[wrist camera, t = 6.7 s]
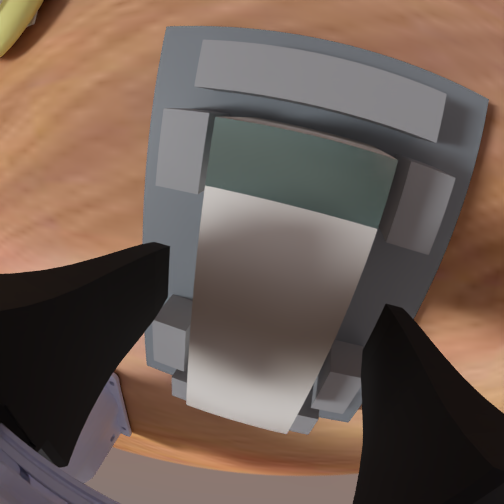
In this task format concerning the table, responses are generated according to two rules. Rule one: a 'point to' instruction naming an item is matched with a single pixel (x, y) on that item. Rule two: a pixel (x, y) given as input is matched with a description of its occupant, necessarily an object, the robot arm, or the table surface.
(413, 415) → the robot arm
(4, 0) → the emoji
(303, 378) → the light grey tapered block
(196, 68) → the cradle
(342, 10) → the table surface
